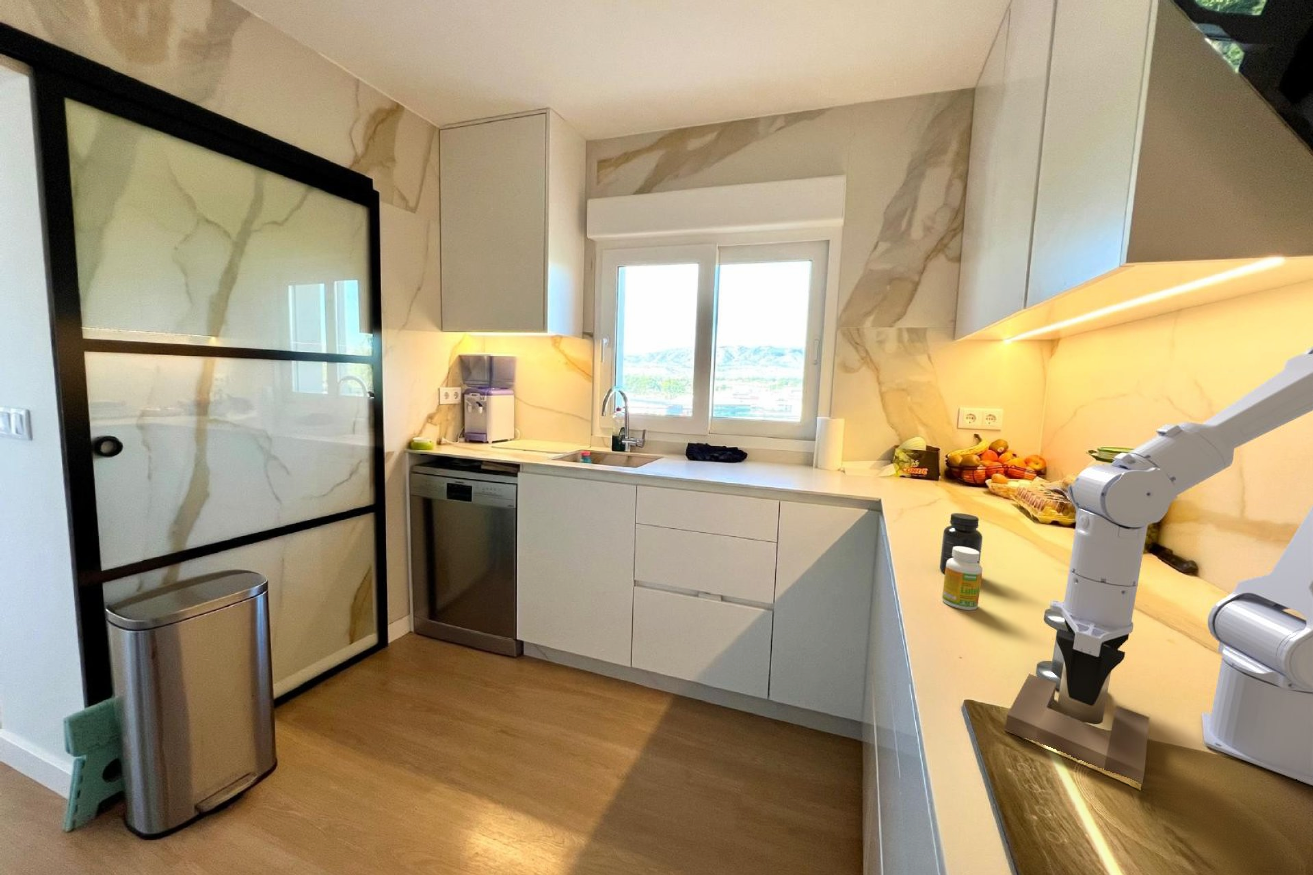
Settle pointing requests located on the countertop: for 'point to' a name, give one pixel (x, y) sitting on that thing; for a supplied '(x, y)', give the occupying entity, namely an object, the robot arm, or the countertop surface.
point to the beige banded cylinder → (1081, 709)
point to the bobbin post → (1054, 667)
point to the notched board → (1080, 731)
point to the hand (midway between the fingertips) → (1083, 692)
